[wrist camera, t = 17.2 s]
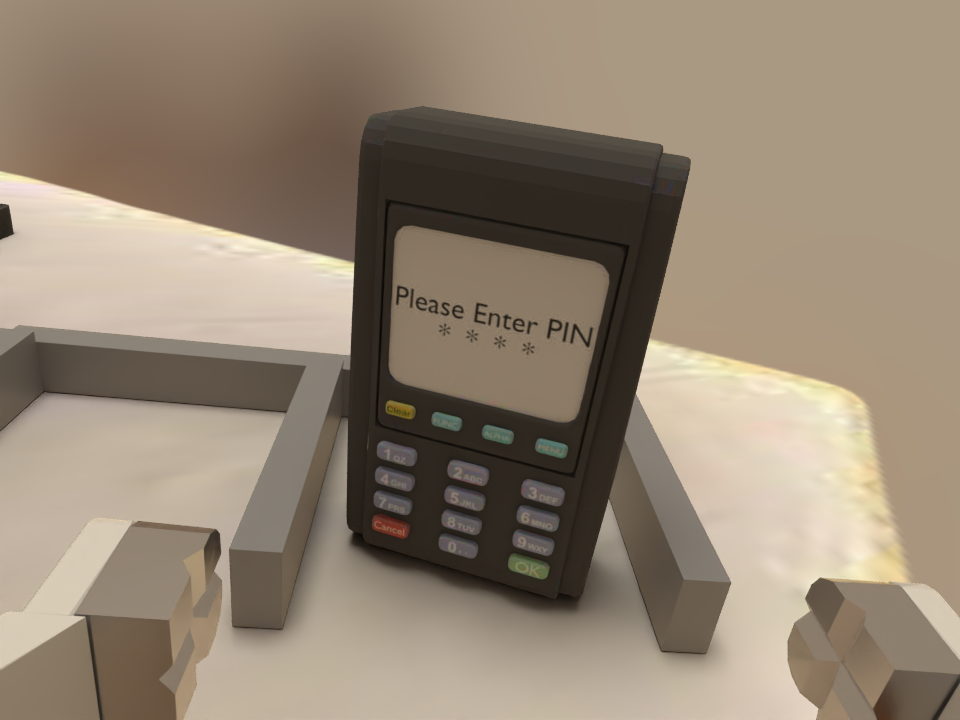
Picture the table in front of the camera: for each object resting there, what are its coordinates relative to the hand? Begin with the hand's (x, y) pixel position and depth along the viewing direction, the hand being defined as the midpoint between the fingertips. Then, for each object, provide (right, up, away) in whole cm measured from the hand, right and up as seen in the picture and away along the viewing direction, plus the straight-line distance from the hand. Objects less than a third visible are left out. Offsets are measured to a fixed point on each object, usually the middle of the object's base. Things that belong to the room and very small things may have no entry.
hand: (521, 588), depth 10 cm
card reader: (-1, -4, +16) cm, 17 cm away
